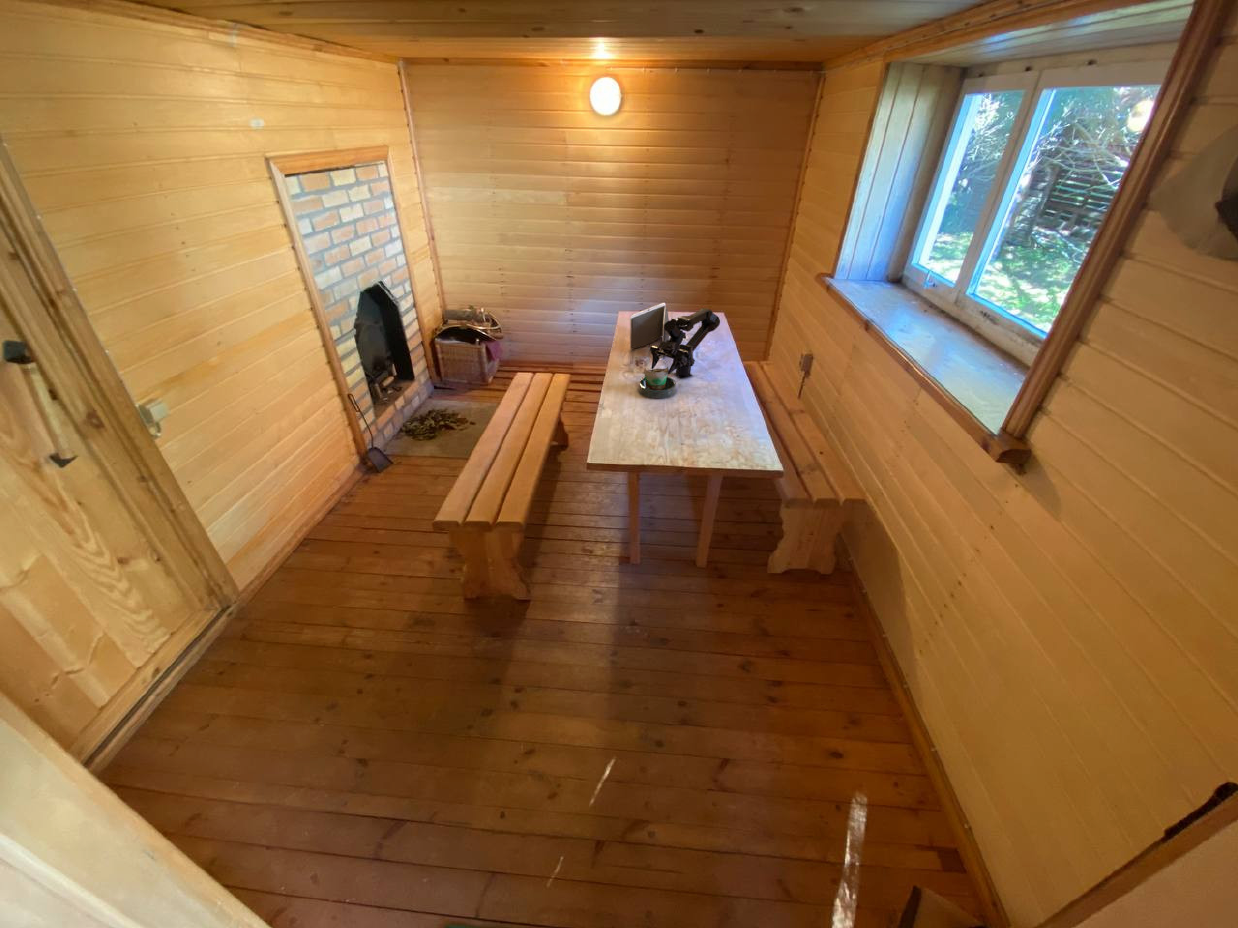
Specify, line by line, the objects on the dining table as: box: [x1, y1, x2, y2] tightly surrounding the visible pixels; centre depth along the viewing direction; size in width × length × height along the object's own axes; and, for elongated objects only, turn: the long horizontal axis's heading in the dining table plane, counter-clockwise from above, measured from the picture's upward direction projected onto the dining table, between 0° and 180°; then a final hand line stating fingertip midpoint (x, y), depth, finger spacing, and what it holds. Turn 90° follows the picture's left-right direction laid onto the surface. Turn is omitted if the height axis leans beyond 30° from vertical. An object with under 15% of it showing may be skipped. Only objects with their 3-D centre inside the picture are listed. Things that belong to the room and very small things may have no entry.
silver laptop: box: [629, 302, 670, 358], centre depth 282 cm, size 35×22×20 cm, turn 176°
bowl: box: [638, 376, 677, 399], centre depth 240 cm, size 17×17×4 cm
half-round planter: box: [643, 366, 670, 391], centre depth 239 cm, size 12×6×10 cm, turn 105°
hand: (659, 371), depth 237 cm, fingers open, 9 cm apart
